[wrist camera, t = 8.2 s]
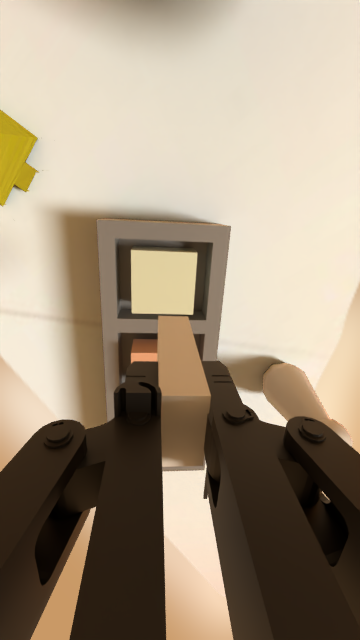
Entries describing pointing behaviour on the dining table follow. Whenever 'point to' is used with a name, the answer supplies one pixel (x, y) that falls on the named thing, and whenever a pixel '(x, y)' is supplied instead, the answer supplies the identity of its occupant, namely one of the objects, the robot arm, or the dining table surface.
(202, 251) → the key panel
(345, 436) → the salt shaker
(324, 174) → the dining table surface
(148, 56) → the dining table surface
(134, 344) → the terracotta key
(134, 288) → the cream square block
